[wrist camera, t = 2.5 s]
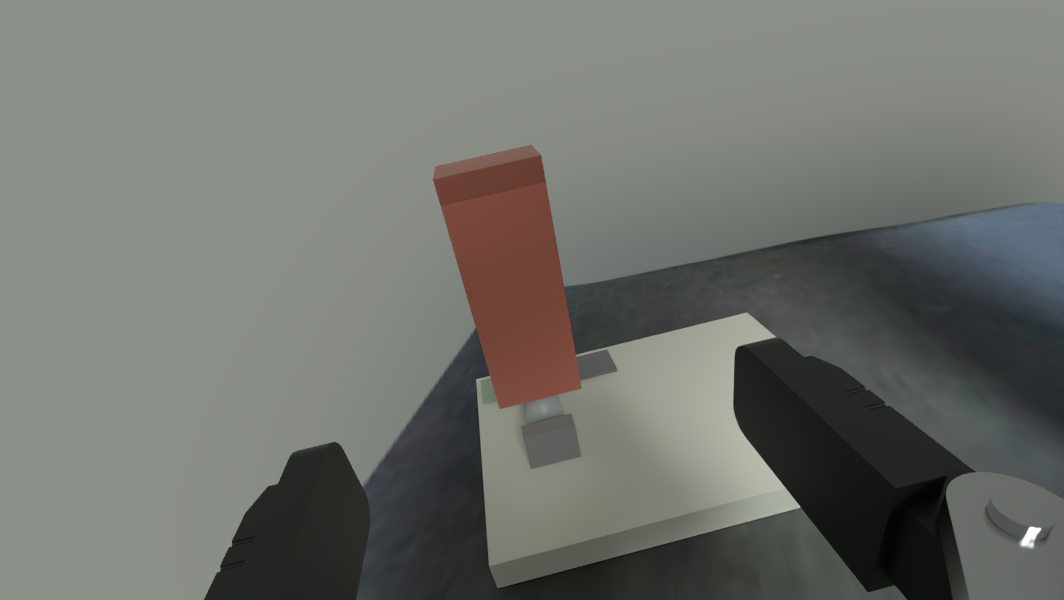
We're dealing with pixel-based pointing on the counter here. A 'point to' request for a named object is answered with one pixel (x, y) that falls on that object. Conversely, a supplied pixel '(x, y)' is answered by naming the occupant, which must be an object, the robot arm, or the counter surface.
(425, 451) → the counter surface
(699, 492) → the breaker base
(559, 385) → the lever
